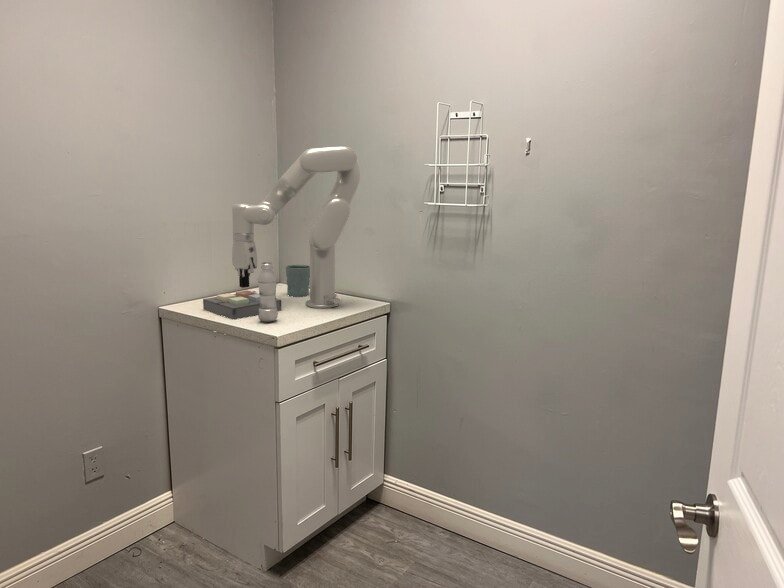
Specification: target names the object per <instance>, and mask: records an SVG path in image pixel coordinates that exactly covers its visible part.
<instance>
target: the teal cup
mask: <svg viewBox="0 0 784 588" xmlns="http://www.w3.org/2000/svg"><path fill="white" fill-rule="evenodd" d="M285 274H286V275H285V276H286V285H287V286H286V287H287V296H288V295H289V296H288V297H291V296H293V297H292V298H303V296H304V297H308V296H309V295H310V265H308V264H307V265H306V264H289V265H286V266H285ZM307 295H308V296H307Z"/></svg>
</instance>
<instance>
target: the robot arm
mask: <svg viewBox="0 0 784 588" xmlns="http://www.w3.org/2000/svg"><path fill="white" fill-rule="evenodd" d="M357 160H358V156H357V153H356V151H355V150H354V149H353V148H352V147H350V146H347V145H343V146H329V147H312V148H311V147H310V148H308V149H306V150H304V151H303V152H302V153H301V154H300V155H299V157H298V158H297V159H296V160H295V161H294V162H293V163H292V164H291V166H290V167H289V168H288V169H287V170H286V171H285V172H284V173H283V174H282V175H281V177H280V178H279V179H278V181H277V183H276V184H275V185H274V186H273V187H272V189H271V190H270V191H269V192H268V193H267V195H266V196H265V197H264V198H263V199H262V200H260V202H259V203H258V204H250V203H234V204H233V205H232V207H231V211H232V212H231V215H232V250H231V252H232V254H231V255H232V256H231V261H232V266H233V267H234V270H235V271H237V274H238V276H239V277H238V278H239V283H238V284H239V288H242V289H243V288H249V287H250V276H251V274H253V273H255V271H254V269H255V270H256V269H258V253H257V247H256V246H257V245H256V243H255V228H254V227H255V226H254V224H255V225H261V226H267V225H270V224H271V223H272V222H273V221H274V220H275V217H276V216H277V215H278V214H279V213H280V211H282V209H283V208H284V207H285V206H286V205H287V204H288V203H289V202H290V201H291V200H292V199H294V198H296V197H297V196H298V195H299V194H300V193H301V191H302V190H303V189H304V188H306V186H307V185H308V183H309V182H311V180H313V178H314V177H315V176H316V175H317V174H318V173H331V172H336V177H335V181H334V183H333V185H332V188H331V189H330V192H329V193H328V195H327V197H326V199H325V201H324V202H323V204H322V211H321V213H320V215H319V217H318V219H317V221H316V222H315V223H314V224H313V225H311V227H310V229H309V232H308V245H309V247H308V248H309V250H308V251H309V266H310V278H309V280H310V281H309V299H308V300H306V302H305V305H306V306H307V307H310V308H315V309H316V308H317V309H328V308H329V309H331V308H336V307H338V306H339V305H340V302H341V299H340V298H339V297H337V293H336V247H335V246H336V244H337V242H338V240H339V239H340V237H341V234H342V232H343V230H344V228H345V226H346V223H347V221H348V219H349V217H350V214H351V213H350V212H351V207H350V205H351V203H352V200H353V198H354V196H355V194H356V192H357V189H358V187H359V185H360V180H361V177H360V176H361V173H360V167H359V164H358V162H357Z"/></svg>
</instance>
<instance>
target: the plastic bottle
mask: <svg viewBox="0 0 784 588" xmlns="http://www.w3.org/2000/svg"><path fill="white" fill-rule="evenodd" d="M260 269H261V270H260V272H259V274H258V276H257V279H256V280H257V286H258V287H257V288H258V292H259V293H258V294H260V301H259V310H258V315H257V317H258V319H259V321H260V322H264V323H271V322H275V321H277V318H278V315H279V314H278V313H279V311H277V307H276V299H277V295H276V293H277V285H278V284H277V283H278V277H277V275H276V273H275V271H274V270H273V269H274V267H273V262H271V261H269V262H268V261H267V262H264V261H263V262H261V266H260Z"/></svg>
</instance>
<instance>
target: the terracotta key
mask: <svg viewBox="0 0 784 588" xmlns="http://www.w3.org/2000/svg"><path fill="white" fill-rule="evenodd" d="M255 293H256V292H255V291H251V290H248V289H246V290H243V291H242V290H241V291H236V292H235V294H236V297H244V298H248V295H254V294H255Z"/></svg>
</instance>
